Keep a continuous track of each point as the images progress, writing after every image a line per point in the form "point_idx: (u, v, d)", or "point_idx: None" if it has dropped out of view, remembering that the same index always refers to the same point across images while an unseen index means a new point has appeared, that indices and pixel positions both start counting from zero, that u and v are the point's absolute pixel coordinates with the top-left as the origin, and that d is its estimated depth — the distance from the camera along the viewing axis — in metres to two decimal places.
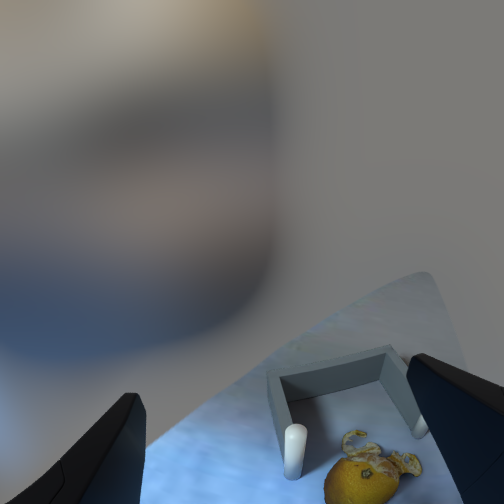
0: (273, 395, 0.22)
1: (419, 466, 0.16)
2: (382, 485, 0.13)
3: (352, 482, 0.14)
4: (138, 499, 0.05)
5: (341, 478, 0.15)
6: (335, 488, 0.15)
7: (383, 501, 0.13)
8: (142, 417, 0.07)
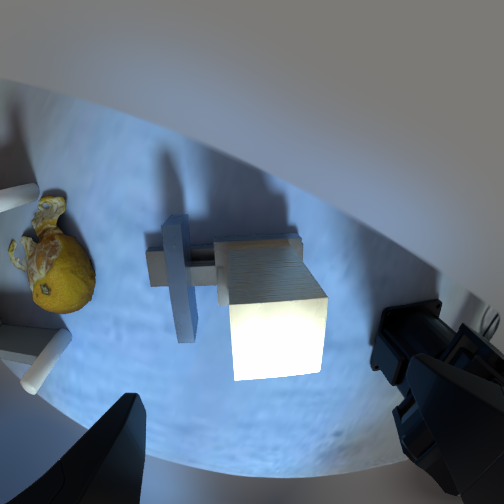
0: None
1: (55, 199, 0.16)
2: (59, 278, 0.15)
3: (53, 304, 0.16)
4: (138, 499, 0.05)
5: (50, 310, 0.16)
6: (60, 312, 0.17)
7: (80, 268, 0.17)
8: (142, 417, 0.07)
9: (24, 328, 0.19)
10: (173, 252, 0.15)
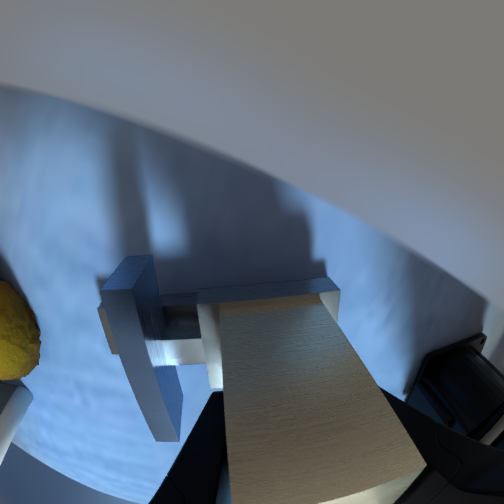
0: None
1: None
2: None
3: None
4: None
5: None
6: (4, 379, 0.10)
7: (15, 331, 0.10)
8: None
9: None
10: (127, 334, 0.08)
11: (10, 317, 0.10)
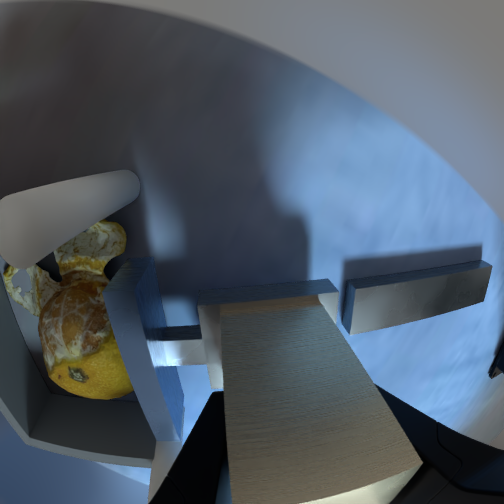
0: (64, 453, 0.10)
1: (107, 226, 0.10)
2: (109, 368, 0.09)
3: (88, 393, 0.10)
4: None
5: (77, 394, 0.10)
6: None
7: None
8: None
9: (95, 402, 0.13)
10: (129, 335, 0.08)
11: None
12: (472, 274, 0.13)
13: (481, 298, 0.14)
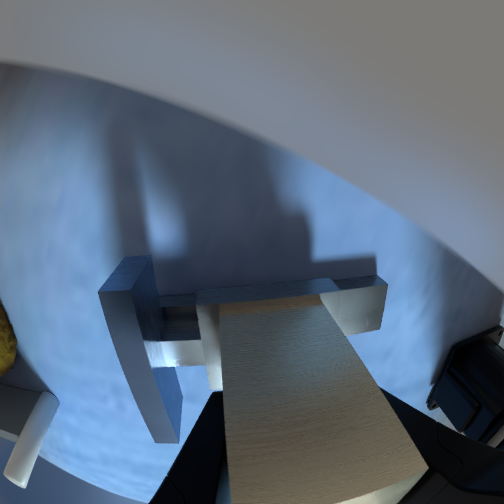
0: None
1: None
2: None
3: None
4: None
5: None
6: None
7: None
8: None
9: (0, 386, 0.12)
10: (126, 335, 0.08)
11: None
12: (345, 296, 0.12)
13: (374, 325, 0.13)
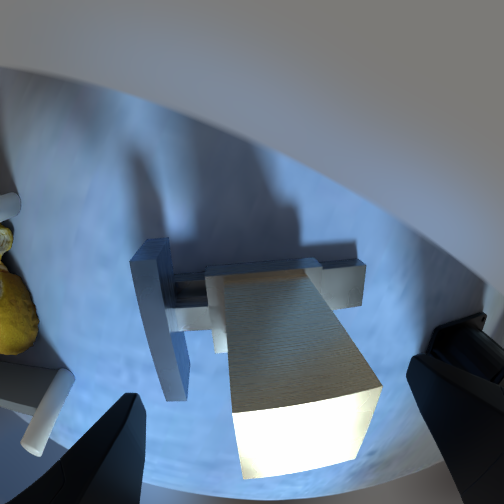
0: None
1: (2, 230, 0.12)
2: None
3: None
4: (138, 499, 0.05)
5: None
6: None
7: (21, 319, 0.12)
8: (142, 417, 0.07)
9: (17, 366, 0.15)
10: (149, 298, 0.10)
11: (19, 307, 0.12)
12: (329, 274, 0.14)
13: (356, 302, 0.15)
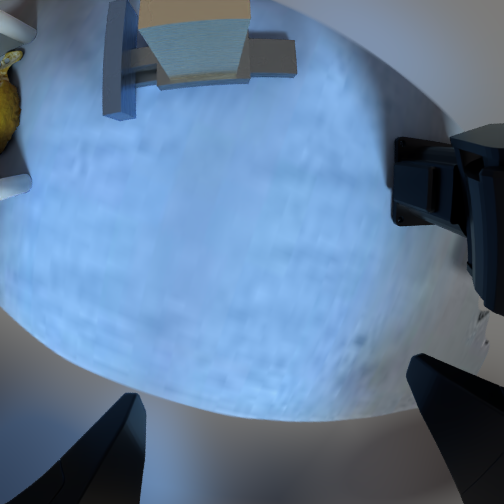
0: None
1: (15, 52, 0.12)
2: None
3: None
4: (138, 499, 0.05)
5: None
6: None
7: (7, 106, 0.12)
8: (142, 417, 0.07)
9: None
10: (115, 20, 0.10)
11: (9, 97, 0.12)
12: (261, 43, 0.14)
13: (291, 69, 0.15)
